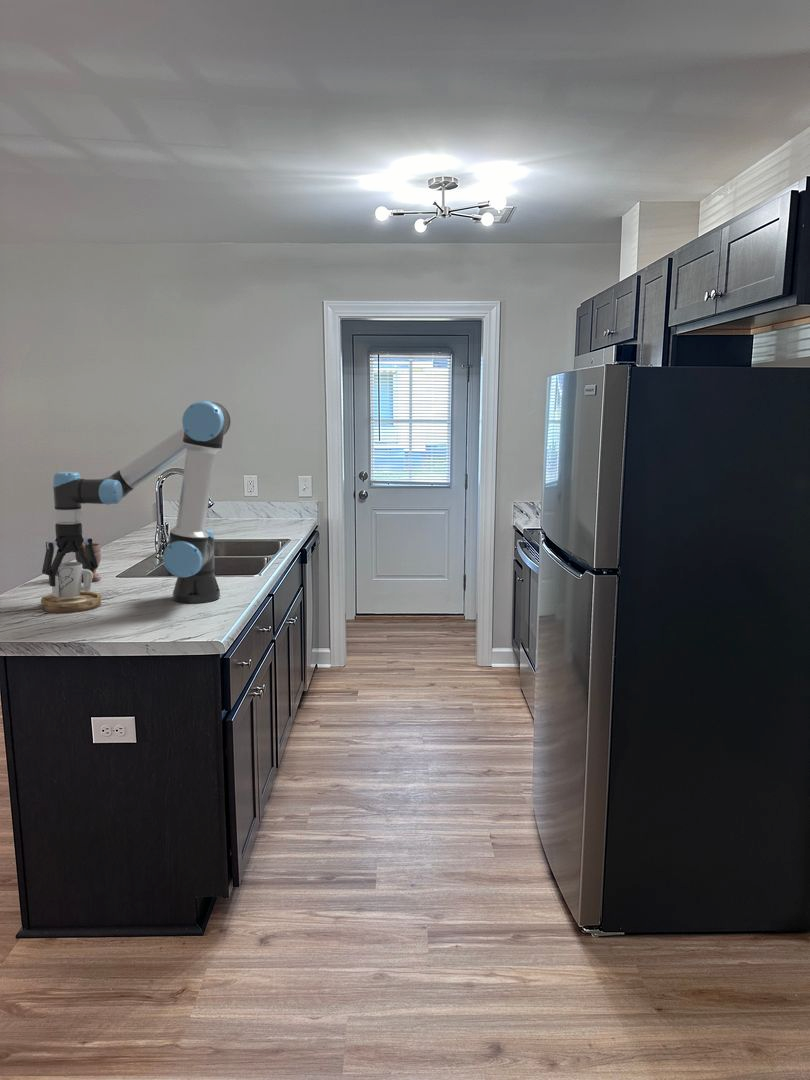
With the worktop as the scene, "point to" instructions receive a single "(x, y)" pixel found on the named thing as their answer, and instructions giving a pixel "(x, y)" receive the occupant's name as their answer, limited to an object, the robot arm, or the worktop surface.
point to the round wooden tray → (71, 603)
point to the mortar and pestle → (97, 555)
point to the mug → (72, 579)
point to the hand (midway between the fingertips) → (71, 593)
